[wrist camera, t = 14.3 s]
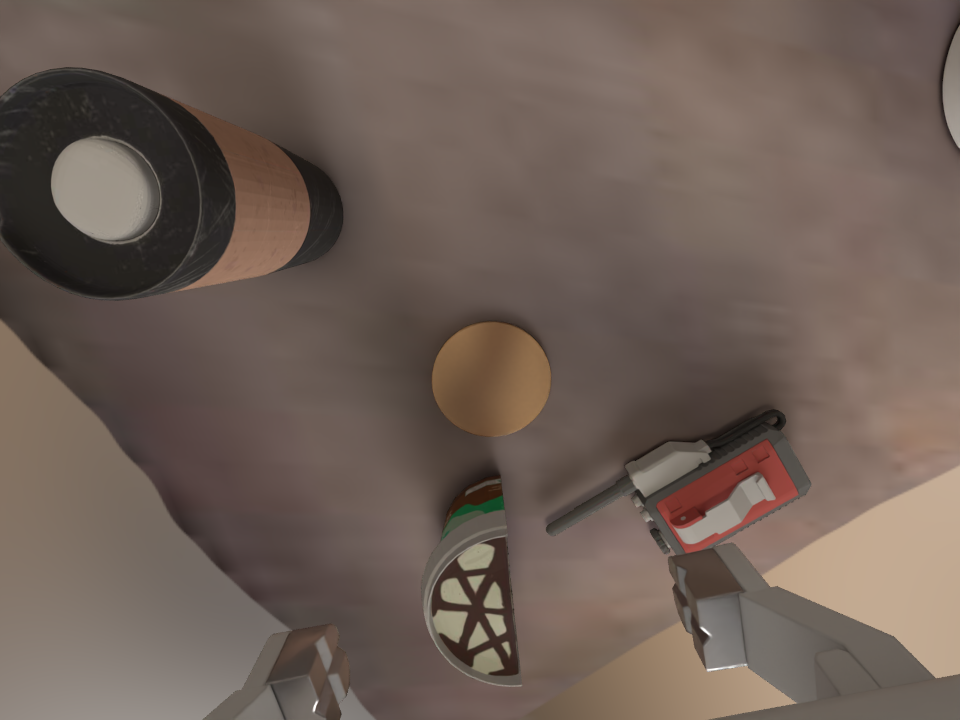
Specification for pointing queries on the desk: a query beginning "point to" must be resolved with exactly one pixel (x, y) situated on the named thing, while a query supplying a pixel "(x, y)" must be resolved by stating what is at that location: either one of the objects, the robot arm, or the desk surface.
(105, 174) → the travel mug
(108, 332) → the desk surface
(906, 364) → the desk surface
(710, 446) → the walkie-talkie
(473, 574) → the food container
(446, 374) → the cork coaster
